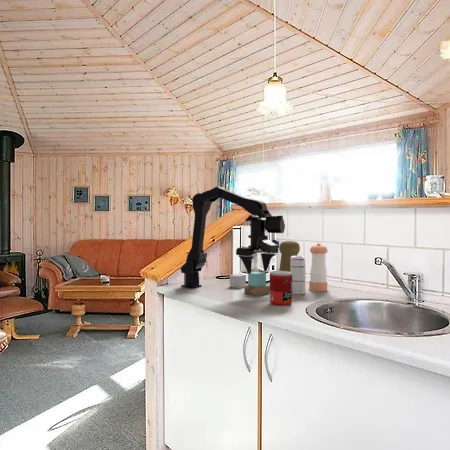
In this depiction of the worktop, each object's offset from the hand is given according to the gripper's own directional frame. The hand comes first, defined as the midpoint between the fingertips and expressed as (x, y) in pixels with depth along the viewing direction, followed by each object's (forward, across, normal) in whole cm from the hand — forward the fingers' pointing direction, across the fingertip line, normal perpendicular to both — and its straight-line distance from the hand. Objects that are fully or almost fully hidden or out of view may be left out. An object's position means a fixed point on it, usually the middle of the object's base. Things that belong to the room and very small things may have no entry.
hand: (257, 272), depth 159 cm
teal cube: (+5, 0, 0) cm, 5 cm away
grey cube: (+8, +4, +15) cm, 18 cm away
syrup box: (+8, +13, -10) cm, 18 cm away
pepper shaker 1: (+8, +25, +4) cm, 27 cm away
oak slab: (+8, 0, 0) cm, 8 cm away
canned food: (+8, -7, -18) cm, 21 cm away
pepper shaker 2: (+8, +24, -12) cm, 28 cm away
